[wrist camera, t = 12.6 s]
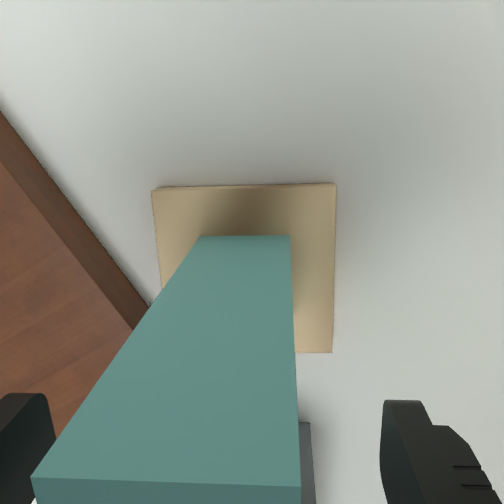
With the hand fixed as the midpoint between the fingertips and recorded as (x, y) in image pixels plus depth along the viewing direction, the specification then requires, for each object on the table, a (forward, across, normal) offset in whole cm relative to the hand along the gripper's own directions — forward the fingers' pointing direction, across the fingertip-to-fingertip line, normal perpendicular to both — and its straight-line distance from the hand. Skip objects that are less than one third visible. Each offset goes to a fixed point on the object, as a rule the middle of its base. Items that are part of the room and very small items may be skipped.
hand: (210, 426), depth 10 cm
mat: (+11, 0, 0) cm, 11 cm away
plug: (+10, 0, 0) cm, 10 cm away
